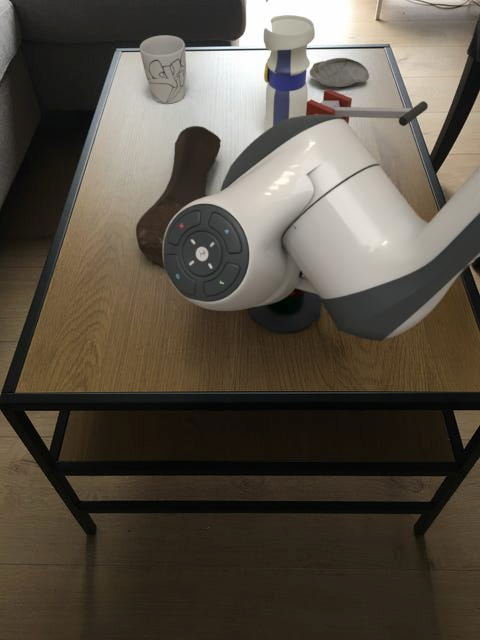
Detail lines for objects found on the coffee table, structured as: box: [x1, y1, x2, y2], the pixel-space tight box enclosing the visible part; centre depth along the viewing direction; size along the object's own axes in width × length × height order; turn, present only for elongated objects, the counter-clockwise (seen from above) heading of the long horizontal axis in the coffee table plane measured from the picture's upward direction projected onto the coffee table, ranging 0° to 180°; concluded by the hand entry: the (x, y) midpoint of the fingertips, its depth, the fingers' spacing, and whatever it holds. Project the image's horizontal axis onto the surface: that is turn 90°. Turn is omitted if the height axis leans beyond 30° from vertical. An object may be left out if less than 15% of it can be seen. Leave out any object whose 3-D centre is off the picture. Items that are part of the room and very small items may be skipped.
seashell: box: [309, 57, 370, 88], centre depth 108 cm, size 12×8×5 cm
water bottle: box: [263, 0, 316, 133], centre depth 89 cm, size 8×9×25 cm
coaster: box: [247, 291, 323, 335], centre depth 73 cm, size 10×10×1 cm
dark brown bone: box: [135, 125, 222, 268], centre depth 83 cm, size 11×10×28 cm
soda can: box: [268, 288, 305, 314], centre depth 68 cm, size 5×5×12 cm
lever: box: [320, 100, 429, 127], centre depth 75 cm, size 16×5×2 cm, turn 47°
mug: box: [139, 34, 187, 105], centre depth 105 cm, size 11×8×10 cm
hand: (285, 264), depth 66 cm, fingers open, 8 cm apart
